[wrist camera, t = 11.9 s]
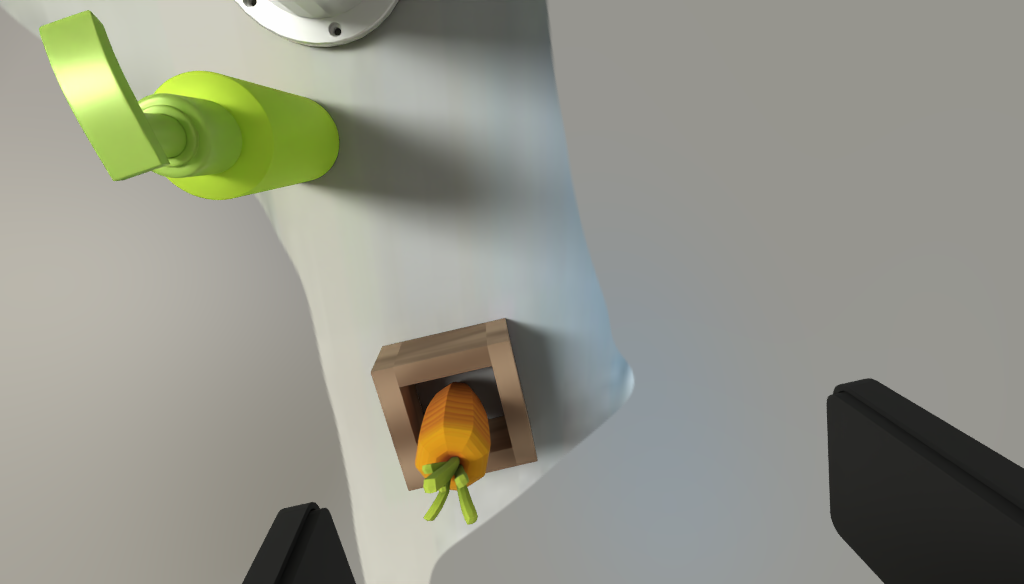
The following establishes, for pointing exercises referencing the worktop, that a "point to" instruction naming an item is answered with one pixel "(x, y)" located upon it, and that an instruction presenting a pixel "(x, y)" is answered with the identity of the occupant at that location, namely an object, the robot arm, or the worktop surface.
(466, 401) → the carrot
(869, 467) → the robot arm
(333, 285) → the worktop surface
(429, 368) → the holder
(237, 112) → the soap dispenser
